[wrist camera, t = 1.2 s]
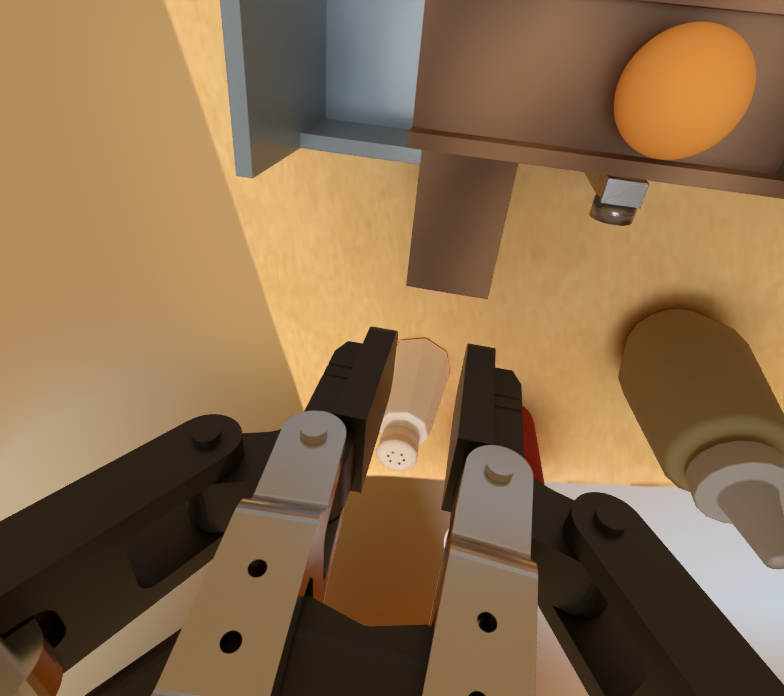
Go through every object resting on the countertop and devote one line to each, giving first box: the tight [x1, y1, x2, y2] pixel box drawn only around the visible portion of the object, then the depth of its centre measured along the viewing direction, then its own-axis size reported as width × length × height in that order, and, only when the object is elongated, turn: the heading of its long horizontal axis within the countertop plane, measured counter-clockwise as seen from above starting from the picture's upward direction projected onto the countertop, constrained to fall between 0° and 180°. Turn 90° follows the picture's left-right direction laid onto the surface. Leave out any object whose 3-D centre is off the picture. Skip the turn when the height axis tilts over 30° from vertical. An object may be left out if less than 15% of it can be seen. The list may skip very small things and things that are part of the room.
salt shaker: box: [376, 338, 450, 470], centre depth 37 cm, size 5×5×11 cm
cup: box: [220, 0, 425, 178], centre depth 24 cm, size 11×11×12 cm
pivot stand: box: [585, 172, 649, 226], centre depth 23 cm, size 5×10×12 cm, turn 175°
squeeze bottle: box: [618, 309, 784, 569], centre depth 29 cm, size 8×8×18 cm
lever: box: [406, 0, 784, 299], centre depth 19 cm, size 17×13×4 cm
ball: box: [614, 22, 756, 160], centre depth 16 cm, size 4×4×4 cm
